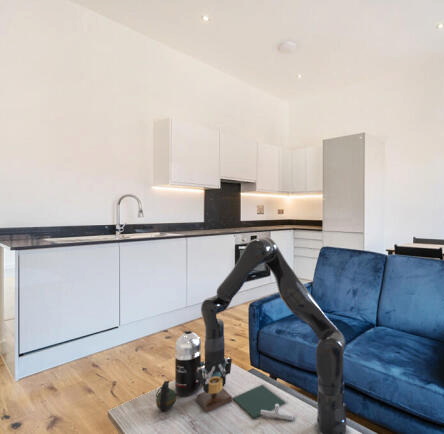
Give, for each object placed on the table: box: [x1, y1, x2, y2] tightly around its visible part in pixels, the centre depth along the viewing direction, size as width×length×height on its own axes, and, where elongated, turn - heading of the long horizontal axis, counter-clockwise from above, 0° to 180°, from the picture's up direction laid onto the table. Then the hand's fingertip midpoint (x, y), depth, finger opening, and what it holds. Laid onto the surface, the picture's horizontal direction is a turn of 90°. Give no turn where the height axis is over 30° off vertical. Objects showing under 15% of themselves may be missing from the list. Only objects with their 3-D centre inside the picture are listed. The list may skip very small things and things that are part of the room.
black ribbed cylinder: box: [174, 330, 202, 397], centre depth 128 cm, size 10×10×25 cm
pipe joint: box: [260, 404, 294, 421], centre depth 112 cm, size 12×2×4 cm, turn 78°
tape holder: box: [196, 381, 233, 413], centre depth 121 cm, size 10×10×8 cm
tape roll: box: [208, 377, 224, 394], centre depth 121 cm, size 6×6×4 cm
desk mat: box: [232, 384, 286, 420], centre depth 121 cm, size 16×14×1 cm
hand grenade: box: [155, 380, 177, 413], centre depth 116 cm, size 8×7×10 cm
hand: (214, 388), depth 121 cm, fingers closed on tape roll, 6 cm apart
